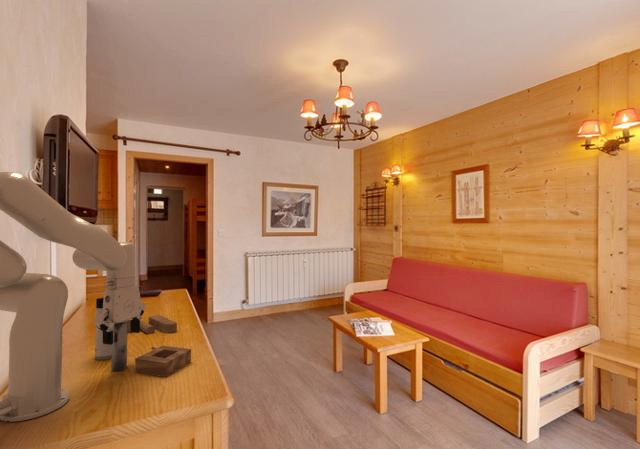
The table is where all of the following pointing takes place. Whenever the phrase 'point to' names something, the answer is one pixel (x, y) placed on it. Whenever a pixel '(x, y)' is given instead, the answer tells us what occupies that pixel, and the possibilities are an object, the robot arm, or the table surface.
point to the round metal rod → (119, 346)
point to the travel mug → (101, 337)
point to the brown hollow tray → (162, 361)
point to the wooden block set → (157, 325)
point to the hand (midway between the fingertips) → (122, 338)
